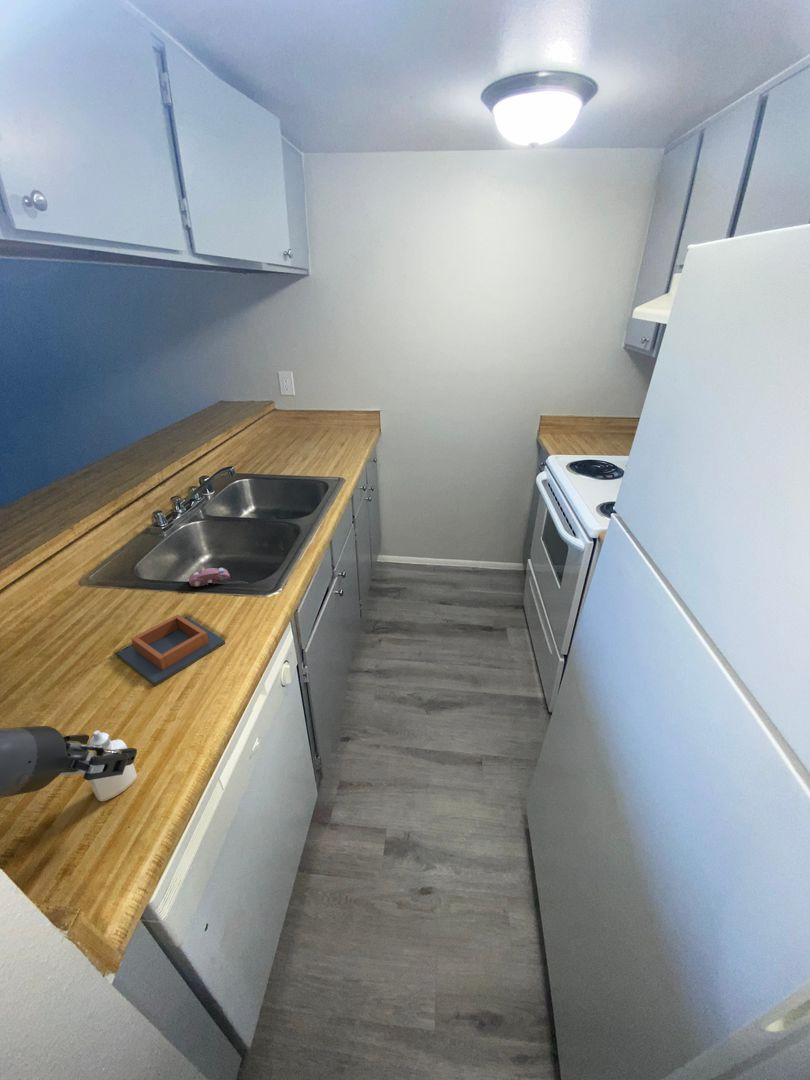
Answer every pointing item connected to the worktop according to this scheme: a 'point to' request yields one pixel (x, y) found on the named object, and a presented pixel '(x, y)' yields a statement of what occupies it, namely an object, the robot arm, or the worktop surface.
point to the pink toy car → (208, 576)
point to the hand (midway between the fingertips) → (108, 748)
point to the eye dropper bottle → (113, 784)
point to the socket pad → (169, 648)
